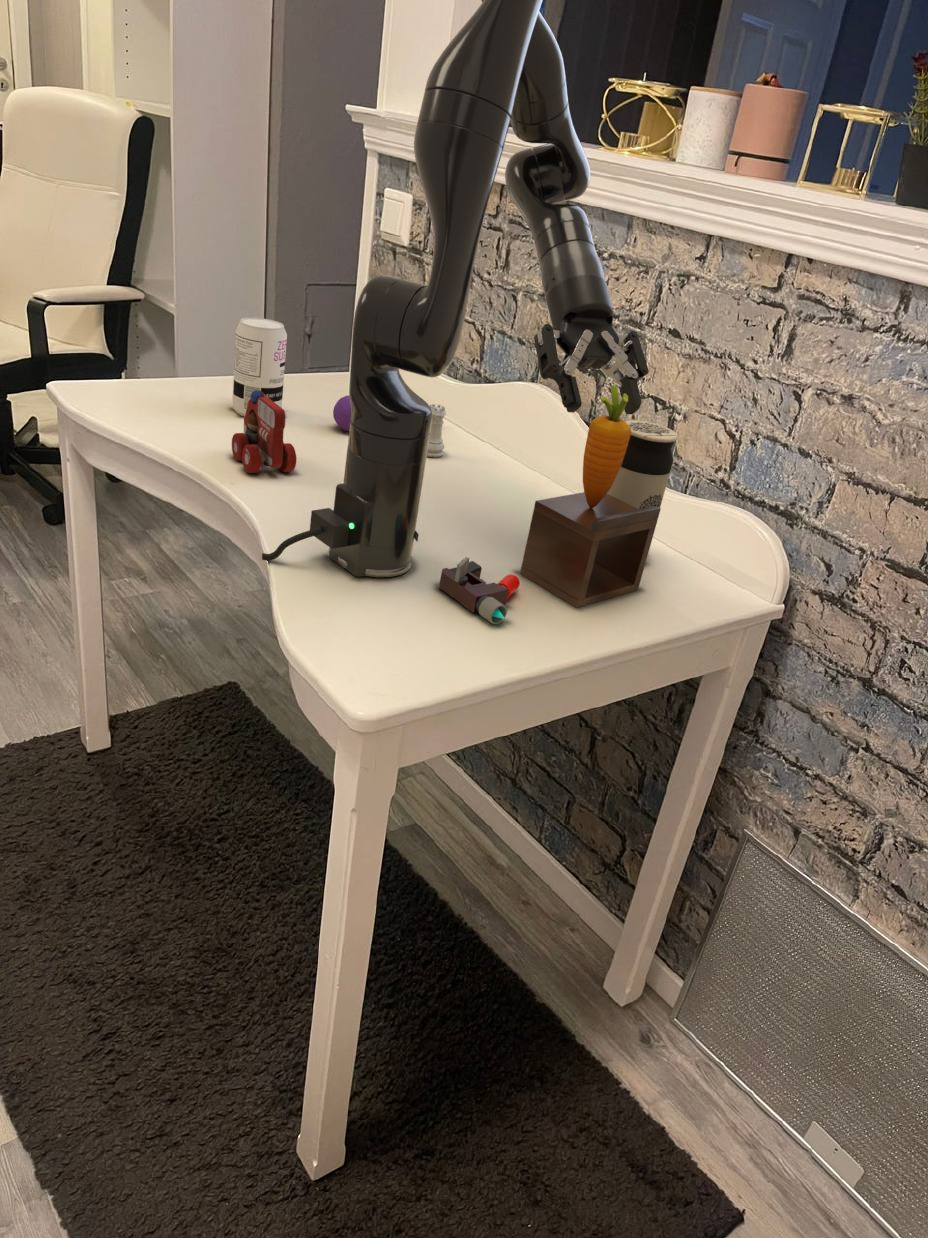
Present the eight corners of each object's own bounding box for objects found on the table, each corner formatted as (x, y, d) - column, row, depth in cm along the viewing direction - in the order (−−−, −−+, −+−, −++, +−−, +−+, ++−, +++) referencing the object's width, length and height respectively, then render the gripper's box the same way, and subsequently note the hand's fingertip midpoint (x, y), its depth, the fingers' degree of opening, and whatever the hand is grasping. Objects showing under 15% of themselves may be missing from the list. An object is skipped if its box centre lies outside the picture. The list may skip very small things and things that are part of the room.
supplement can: (229, 403, 162) (233, 314, 155) (277, 407, 164) (284, 319, 157) (234, 418, 155) (239, 326, 148) (284, 421, 158) (291, 331, 151)
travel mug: (579, 541, 133) (609, 418, 124) (627, 541, 136) (659, 420, 127) (606, 566, 126) (639, 438, 118) (655, 566, 129) (691, 440, 121)
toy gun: (492, 631, 105) (499, 593, 103) (427, 585, 112) (433, 548, 110) (553, 615, 111) (561, 579, 109) (487, 572, 118) (494, 537, 116)
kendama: (444, 409, 166) (350, 405, 153) (433, 438, 169) (340, 437, 156) (425, 392, 169) (332, 387, 156) (415, 422, 172) (323, 420, 159)
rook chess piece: (447, 458, 155) (455, 411, 151) (422, 457, 153) (429, 410, 150) (438, 449, 159) (445, 402, 155) (413, 448, 157) (420, 401, 153)
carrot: (609, 519, 114) (640, 397, 107) (569, 510, 114) (597, 388, 107) (611, 505, 118) (641, 388, 111) (573, 497, 119) (600, 379, 112)
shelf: (576, 607, 114) (598, 521, 108) (519, 573, 120) (537, 489, 115) (638, 589, 121) (661, 508, 116) (581, 558, 128) (601, 479, 122)
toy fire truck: (270, 449, 145) (274, 382, 140) (299, 479, 136) (305, 409, 131) (225, 450, 141) (229, 382, 136) (253, 481, 132) (257, 409, 127)
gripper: (541, 266, 109) (571, 393, 106) (639, 277, 115) (671, 397, 112) (511, 302, 115) (538, 423, 112) (606, 311, 122) (634, 425, 119)
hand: (604, 410), depth 112 cm, fingers open, 8 cm apart
